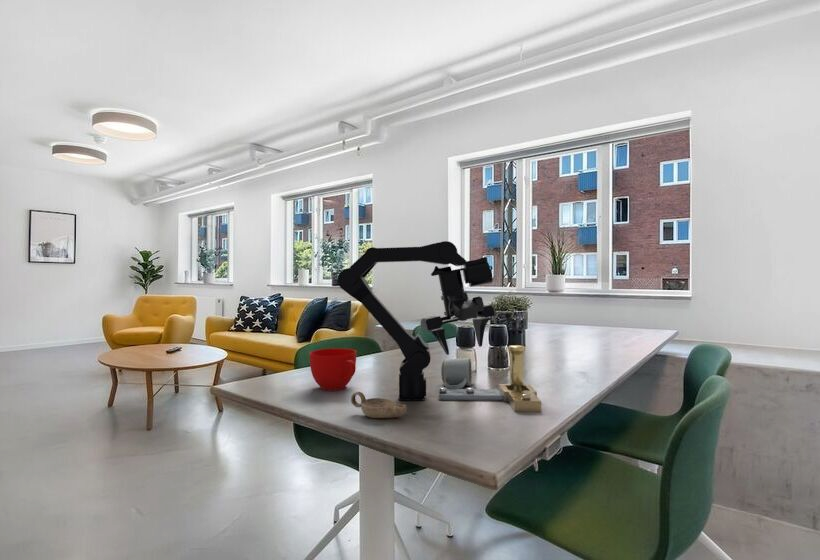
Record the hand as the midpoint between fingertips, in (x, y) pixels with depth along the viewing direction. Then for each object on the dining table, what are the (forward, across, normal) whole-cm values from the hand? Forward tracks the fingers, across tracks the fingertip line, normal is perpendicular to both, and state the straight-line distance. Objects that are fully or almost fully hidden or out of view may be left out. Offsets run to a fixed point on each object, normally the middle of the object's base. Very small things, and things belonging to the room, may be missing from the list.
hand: (464, 350), depth 111 cm
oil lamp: (+8, -26, -7) cm, 28 cm away
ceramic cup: (+6, -32, +19) cm, 37 cm away
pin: (+14, +11, -3) cm, 18 cm away
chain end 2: (+14, +9, -6) cm, 18 cm away
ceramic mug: (+12, +1, +13) cm, 18 cm away
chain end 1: (+13, +3, 0) cm, 13 cm away
